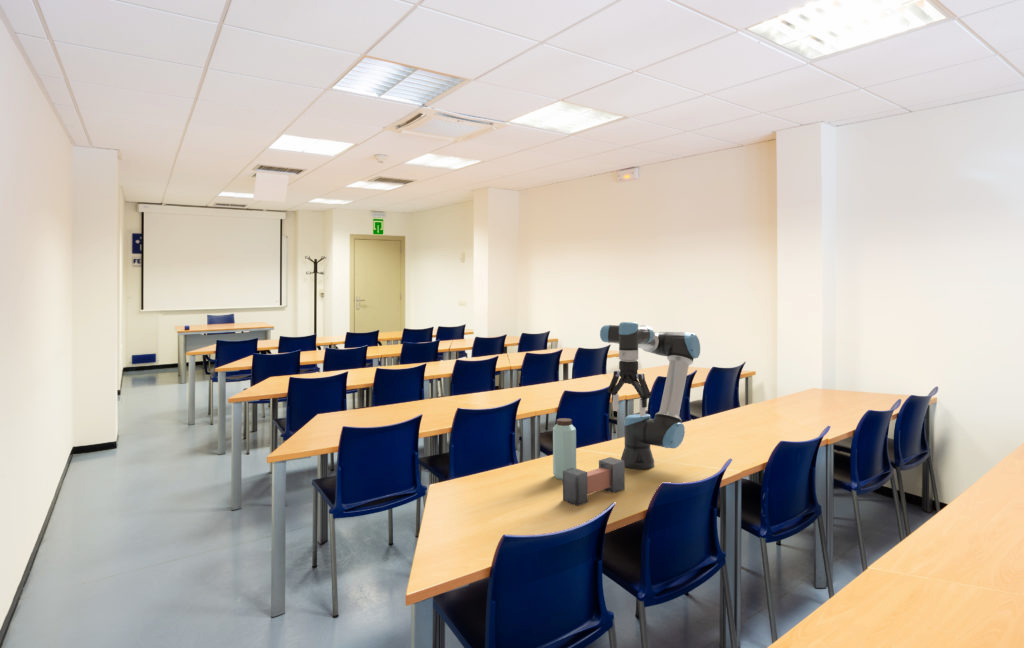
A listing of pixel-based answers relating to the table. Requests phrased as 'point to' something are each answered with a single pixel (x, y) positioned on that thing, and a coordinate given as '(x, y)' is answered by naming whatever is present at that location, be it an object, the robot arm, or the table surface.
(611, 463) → the sleeve
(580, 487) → the socket
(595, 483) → the pink rectangular block
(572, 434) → the water bottle
